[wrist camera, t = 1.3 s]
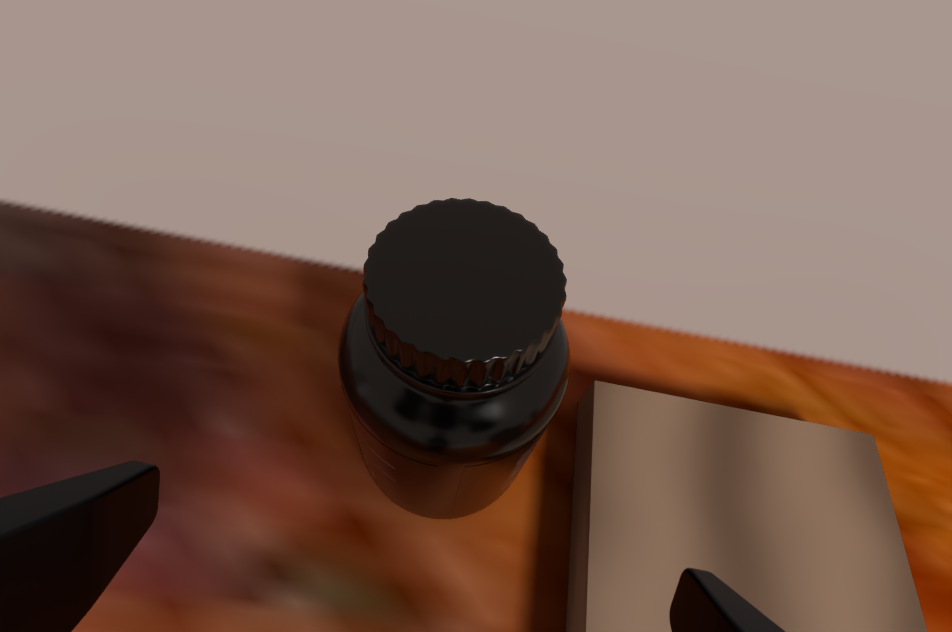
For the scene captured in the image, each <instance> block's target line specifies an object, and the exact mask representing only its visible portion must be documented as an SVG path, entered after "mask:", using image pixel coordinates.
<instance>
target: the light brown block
mask: <svg viewBox="0 0 952 632" xmlns="http://www.w3.org/2000/svg"><path fill="white" fill-rule="evenodd" d="M686 568H694V569H700V570H705V571H709V572H711V573H713V574H714V575H715V576H717V577H718V578H719V579H720V580H722V581H723V582H724V583H725V584H727V585H728V586H729V587H730V588H732V589H733V590H734V591H735V592H737V593H738V594H739V595H740V596H742V597H743V598H744V599H745V600H747V601H748V602H749V603H750V604H752V605H753V606H754V607H755V608H757V609H758V610H759V611H760V612H762V613H763V614H764V615H765V616H767V617H768V618H769V619H770V620H772V621H773V622H774V623H775V624H777V625H778V626H779V627H780V628H782V629H783V630H784V631H785V632H927V629H926V625H925V621H924V618H923V614H922V610H921V607H920V603H919V599H918V596H917V592H916V588H915V585H914V581H913V578H912V574H911V570H910V567H909V563H908V559H907V556H906V552H905V548H904V545H903V541H902V537H901V534H900V530H899V526H898V523H897V519H896V516H895V512H894V508H893V505H892V501H891V497H890V494H889V490H888V486H887V483H886V479H885V475H884V472H883V468H882V465H881V461H880V457H879V454H878V450H877V446H876V443H875V439H874V435H871V434H866V433H861V432H856V431H851V430H846V429H841V428H836V427H831V426H826V425H820V424H815V423H810V422H805V421H800V420H795V419H790V418H785V417H780V416H774V415H769V414H764V413H759V412H754V411H749V410H744V409H739V408H734V407H729V406H723V405H718V404H713V403H708V402H703V401H698V400H693V399H688V398H683V397H678V396H672V395H667V394H662V393H657V392H652V391H647V390H642V389H637V388H632V387H627V386H621V385H616V384H611V383H606V382H601V381H596V380H595V381H594V382H593V383H592V385H591V386H590V387H589V389H588V390H587V391H586V393H585V394H584V395H583V397H582V398H581V399H580V401H579V402H578V409H577V427H576V446H575V465H574V484H573V502H572V521H571V540H570V559H569V578H568V596H567V615H566V632H672V631H671V626H670V619H669V612H670V606H671V603H672V600H673V597H674V594H675V591H676V588H677V585H678V582H679V579H680V576H681V574H682V572H683V570H684V569H686Z"/></svg>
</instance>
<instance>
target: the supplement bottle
mask: <svg viewBox="0 0 952 632" xmlns="http://www.w3.org/2000/svg"><path fill="white" fill-rule="evenodd" d="M363 269H364V280H363V291H362V293H361V294H360V295H359V297H358V298H357V299H356V301H355V302H354V304H353V306H352V307H351V309H350V311H349V313H348V315H347V317H346V319H345V322H344V325H343V327H342V331H341V336H340V340H339V348H338V363H339V373H340V378H341V383H342V388H343V391H344V395H345V398H346V401H347V405H348V408H349V411H350V414H351V418H352V421H353V424H354V428H355V431H356V434H357V437H358V441H359V444H360V447H361V451H362V454H363V457H364V460H365V463H366V465H367V468H368V470H369V472H370V474H371V476H372V478H373V480H374V481H375V483H376V484H377V486H378V487H379V488H380V490H381V491H382V492H383V493H384V494H385V495H386V496H387V497H388V498H389V499H390V500H391V501H392V502H394V503H395V504H397V505H398V506H399V507H401V508H403V509H405V510H407V511H409V512H411V513H413V514H416V515H419V516H423V517H427V518H434V519H453V518H459V517H464V516H467V515H470V514H473V513H475V512H478V511H480V510H482V509H484V508H485V507H487V506H489V505H490V504H491V503H493V502H494V501H495V500H497V499H498V498H499V497H500V496H501V495H502V494H503V493H504V492H505V491H506V490H507V488H508V487H509V486H510V484H511V483H512V482H513V480H514V479H515V477H516V476H517V474H518V473H519V471H520V470H521V468H522V467H523V465H524V463H525V462H526V460H527V459H528V457H529V455H530V454H531V452H532V451H533V449H534V447H535V446H536V444H537V443H538V441H539V440H540V438H541V436H542V435H543V433H544V432H545V430H546V428H547V427H548V425H549V424H550V422H551V420H552V419H553V417H554V415H555V413H556V412H557V410H558V408H559V406H560V403H561V401H562V399H563V396H564V394H565V391H566V387H567V384H568V379H569V373H570V349H569V342H568V338H567V334H566V331H565V328H564V325H563V322H562V320H561V315H562V308H563V306H564V303H565V301H566V292H565V286H566V283H567V279H566V277H565V275H564V273H563V263H562V262H561V260H560V259H559V258H558V255H557V249H556V248H555V247H554V246H553V245H552V244H550V242H549V239H548V236H547V235H545V234H544V233H542V232H541V231H539V229H538V228H537V226H536V225H535V224H534V223H532V222H529V221H527V220H526V219H525V218H524V217H523V216H522V215H521V214H518V213H515V212H511V211H510V210H509V209H507V208H506V207H504V206H497V205H494V204H492V203H490V202H487V201H476V200H473V199H470V198H469V199H462V200H460V199H455V198H450V199H447V200H444V201H441V200H434V201H432V202H430V203H428V204H425V205H418V206H416V207H415V208H414V209H412V210H411V211H407V212H404V213H401V214H400V216H399V217H398V219H396V220H393V221H391V222H389V223H388V224H387V226H386V228H385V230H384V231H382V232H380V233H379V234H378V235H377V237H376V242H375V243H374V244H373V245H372V246H371V247H370V248H369V250H368V259H367V260H366V262H365V264H364V268H363Z"/></svg>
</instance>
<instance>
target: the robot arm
mask: <svg viewBox="0 0 952 632" xmlns="http://www.w3.org/2000/svg"><path fill="white" fill-rule="evenodd" d="M159 483H160V471H159V468H158V467H157V466H156V465H153V464H148V463H143V462H138V461H130V462H126V463H122V464H119V465H115V466H112V467H108V468H105V469H101V470H98V471H94V472H91V473H87V474H83V475H80V476H76V477H73V478H69V479H66V480H62V481H59V482H55V483H52V484H48V485H44V486H41V487H37V488H34V489H30V490H27V491H23V492H20V493H16V494H13V495H9V496H5V497H2V498H0V632H71V631H72V630H73V629H74V628H75V627H76V626H77V624H78V623H79V622H80V621H81V620H82V618H83V617H84V616H85V615H86V614H87V612H88V611H89V610H90V609H91V608H92V606H93V605H94V604H95V602H96V601H97V600H98V598H99V597H100V596H101V594H102V593H103V592H104V590H105V589H106V587H107V586H108V585H109V583H110V582H111V580H112V579H113V578H114V576H115V575H116V573H117V572H118V571H119V569H120V568H121V566H122V565H123V564H124V562H125V561H126V559H127V558H128V557H129V555H130V554H131V552H132V551H133V550H134V548H135V547H136V546H137V544H138V543H139V541H140V540H141V539H142V537H143V536H144V534H145V533H146V532H147V530H148V529H149V527H150V526H151V524H152V523H153V521H154V519H155V517H156V514H157V510H158V499H159ZM669 619H670V626H671V631H672V632H785V631H784V630H783V629H782V628H780V627H779V626H778V625H777V624H775V623H774V622H773V621H772V620H770V619H769V618H768V617H767V616H765V615H764V614H763V613H762V612H760V611H759V610H758V609H757V608H755V607H754V606H753V605H752V604H750V603H749V602H748V601H747V600H745V599H744V598H743V597H742V596H740V595H739V594H738V593H737V592H735V591H734V590H733V589H732V588H730V587H729V586H728V585H727V584H725V583H724V582H723V581H722V580H720V579H719V578H718V577H717V576H715V575H714V574H713V573H711V572H709V571H705V570H700V569H694V568H686V569H684V570H683V572H682V574H681V576H680V579H679V582H678V585H677V588H676V591H675V594H674V597H673V600H672V603H671V606H670V612H669Z"/></svg>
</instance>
